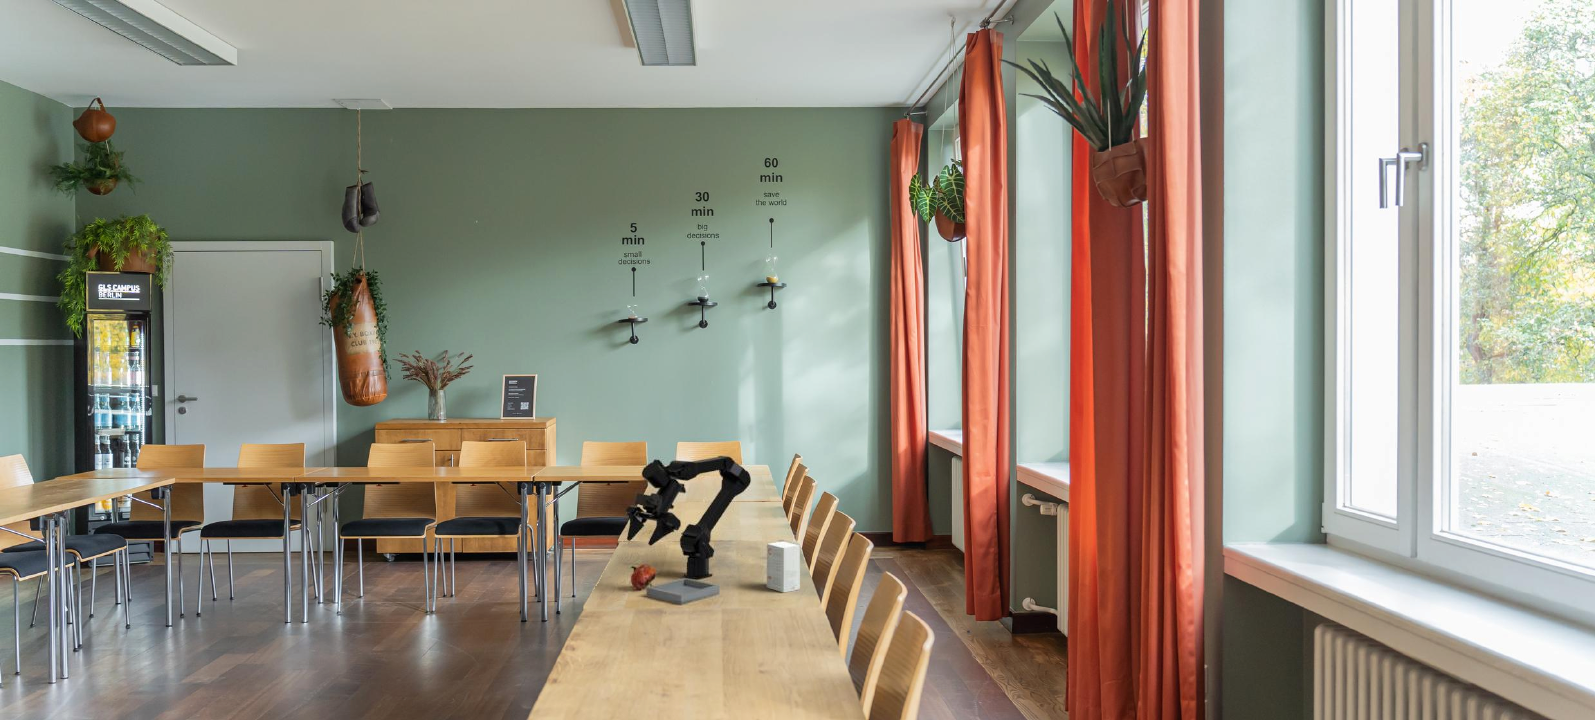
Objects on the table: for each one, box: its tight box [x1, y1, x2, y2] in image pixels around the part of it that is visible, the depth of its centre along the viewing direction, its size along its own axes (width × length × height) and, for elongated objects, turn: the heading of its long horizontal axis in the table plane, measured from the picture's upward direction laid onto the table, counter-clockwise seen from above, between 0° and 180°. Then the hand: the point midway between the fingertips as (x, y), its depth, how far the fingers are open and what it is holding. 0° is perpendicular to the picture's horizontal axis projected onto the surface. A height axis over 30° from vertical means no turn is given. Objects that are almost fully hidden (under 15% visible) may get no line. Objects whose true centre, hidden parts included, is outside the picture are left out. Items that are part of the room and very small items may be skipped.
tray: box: [646, 577, 720, 605], centre depth 267 cm, size 15×14×2 cm
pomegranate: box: [630, 564, 658, 591], centre depth 274 cm, size 7×7×10 cm
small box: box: [766, 541, 801, 593], centre depth 275 cm, size 8×6×13 cm
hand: (638, 542), depth 272 cm, fingers open, 9 cm apart
